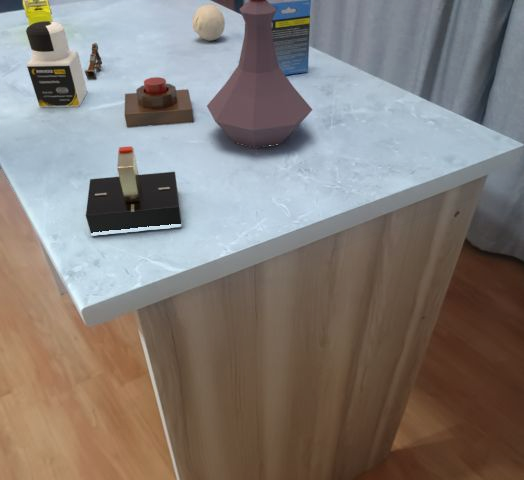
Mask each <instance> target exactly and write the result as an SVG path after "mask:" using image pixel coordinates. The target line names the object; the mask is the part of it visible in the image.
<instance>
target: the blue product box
mask: <svg viewBox="0 0 524 480" xmlns="http://www.w3.org/2000/svg"><path fill="white" fill-rule="evenodd" d="M270 4H271V5H272V6H273V7H274V8H275V9H276V13H275V15H274V18H273V20H272V22H271V27H272V38H273V42H274V47H275V51H276V55H277V60H278V64H279V67H280V69H281V70H282V71H283V73H284V74H285V76H288V75H294V74H302V73H308V72H309V57H310V56H309V54H310V35H311V34H310V33H311V32H310V31H311V28H310V27H311V7H312V0H293V1H291V0H290V1H282V2H274V3H270ZM288 8H289V9H290V10H295V11H293V12H285V13H282V11H285V10H287V9H288Z"/></svg>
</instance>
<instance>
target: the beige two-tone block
mask: <svg viewBox="0 0 524 480" xmlns="http://www.w3.org/2000/svg"><path fill="white" fill-rule="evenodd" d="M116 167H117V174H118V177H119V178H120V183H121V187H122V192H123V196H124V201H125V203H126V202H137V201H140V179H139V175H140V174H139V170H138V163H137V158H136V153H135V148H134V147H133V146H120V147H118V152H117V166H116Z"/></svg>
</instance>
